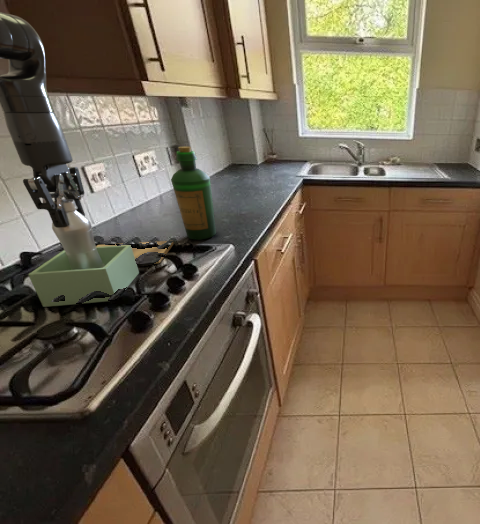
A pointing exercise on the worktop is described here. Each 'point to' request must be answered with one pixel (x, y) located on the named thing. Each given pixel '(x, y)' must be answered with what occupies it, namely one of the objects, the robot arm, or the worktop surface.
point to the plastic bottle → (78, 239)
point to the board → (147, 249)
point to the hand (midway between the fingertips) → (70, 221)
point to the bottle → (194, 196)
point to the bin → (84, 276)
